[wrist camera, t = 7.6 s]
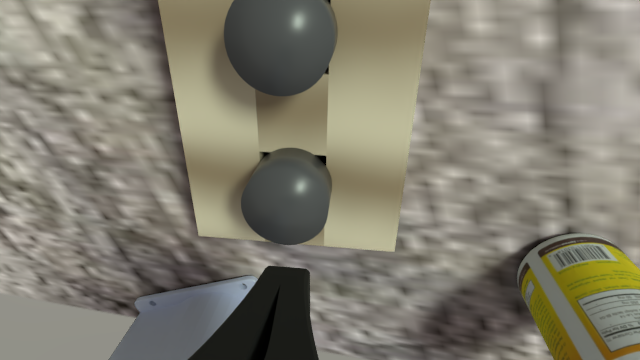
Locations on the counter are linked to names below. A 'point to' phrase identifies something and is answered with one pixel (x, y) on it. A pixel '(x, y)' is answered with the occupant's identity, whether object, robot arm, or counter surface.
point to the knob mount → (301, 117)
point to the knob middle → (280, 43)
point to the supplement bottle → (583, 298)
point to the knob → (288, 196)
